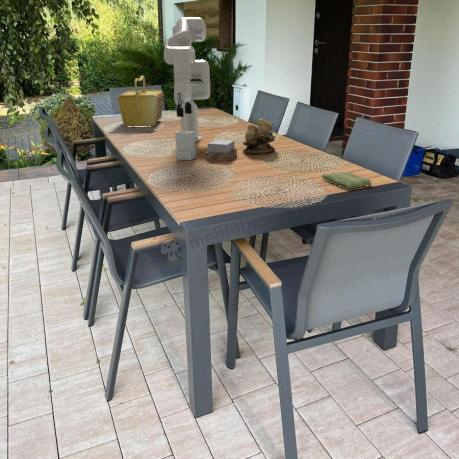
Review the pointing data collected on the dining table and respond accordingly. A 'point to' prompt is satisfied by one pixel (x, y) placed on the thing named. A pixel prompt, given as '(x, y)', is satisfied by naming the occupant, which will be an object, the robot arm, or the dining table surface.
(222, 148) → the grey top block
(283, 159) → the dining table surface
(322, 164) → the dining table surface
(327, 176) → the washcloth
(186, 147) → the supplement box
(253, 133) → the carved figurine
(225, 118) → the dining table surface
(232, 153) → the walnut base block
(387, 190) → the dining table surface
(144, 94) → the picnic basket
